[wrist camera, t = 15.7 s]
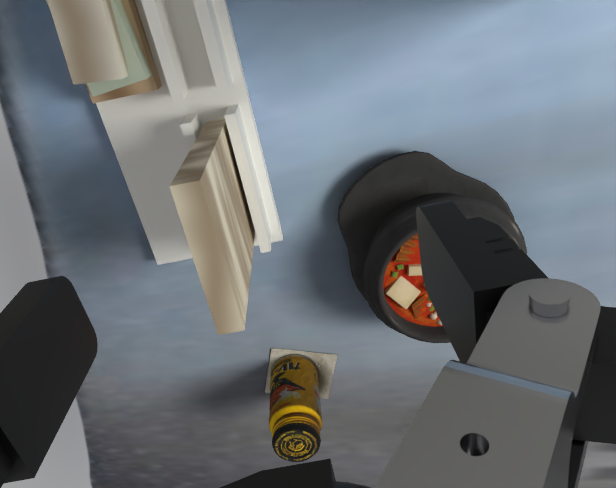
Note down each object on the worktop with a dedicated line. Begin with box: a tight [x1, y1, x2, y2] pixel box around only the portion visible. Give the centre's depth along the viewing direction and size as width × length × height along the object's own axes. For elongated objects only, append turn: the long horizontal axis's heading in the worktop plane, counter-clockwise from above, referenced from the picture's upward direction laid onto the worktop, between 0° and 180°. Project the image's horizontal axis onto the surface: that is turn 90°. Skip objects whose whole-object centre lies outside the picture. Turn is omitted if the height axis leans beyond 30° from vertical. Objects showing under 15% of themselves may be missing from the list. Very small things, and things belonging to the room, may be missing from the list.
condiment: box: [265, 349, 337, 462], centre depth 59 cm, size 7×8×12 cm
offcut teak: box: [85, 0, 162, 103], centre depth 43 cm, size 6×12×2 cm, turn 11°
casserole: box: [338, 151, 527, 343], centre depth 53 cm, size 25×19×8 cm
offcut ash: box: [47, 0, 129, 85], centre depth 39 cm, size 4×8×2 cm, turn 6°
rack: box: [96, 0, 283, 265], centre depth 46 cm, size 14×32×6 cm, turn 11°
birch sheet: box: [169, 118, 255, 335], centre depth 43 cm, size 2×12×18 cm, turn 10°
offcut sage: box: [45, 0, 152, 97], centre depth 41 cm, size 5×10×2 cm, turn 17°
